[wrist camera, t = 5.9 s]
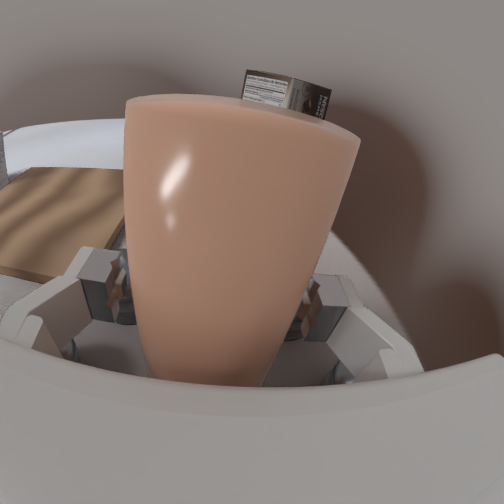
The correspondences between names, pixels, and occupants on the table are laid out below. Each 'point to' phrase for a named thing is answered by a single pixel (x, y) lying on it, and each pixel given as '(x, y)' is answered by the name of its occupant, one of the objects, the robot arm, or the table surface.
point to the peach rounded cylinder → (225, 228)
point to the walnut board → (57, 218)
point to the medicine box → (3, 164)
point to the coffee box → (286, 93)
